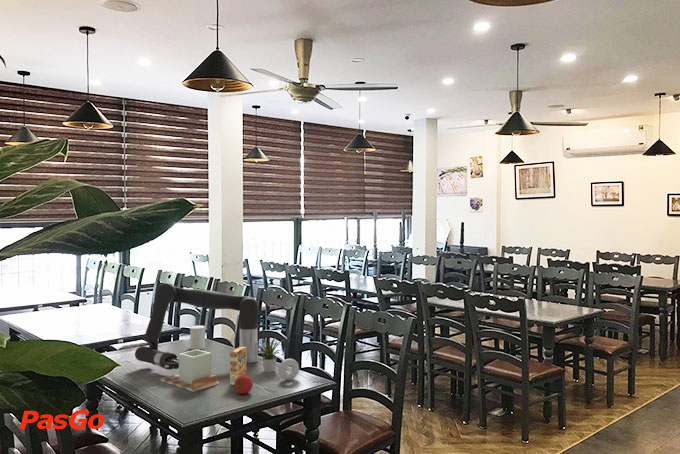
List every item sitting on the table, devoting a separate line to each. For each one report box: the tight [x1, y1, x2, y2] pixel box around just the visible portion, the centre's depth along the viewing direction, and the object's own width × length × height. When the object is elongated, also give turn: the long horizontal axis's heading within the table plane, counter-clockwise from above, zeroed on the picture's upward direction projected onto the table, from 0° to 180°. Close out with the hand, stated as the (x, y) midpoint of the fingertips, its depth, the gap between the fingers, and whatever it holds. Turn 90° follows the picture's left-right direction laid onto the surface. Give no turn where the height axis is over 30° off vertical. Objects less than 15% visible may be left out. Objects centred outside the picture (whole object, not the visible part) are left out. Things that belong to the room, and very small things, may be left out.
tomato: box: [234, 375, 254, 395], centre depth 232 cm, size 8×8×8 cm
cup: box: [189, 325, 206, 350], centre depth 310 cm, size 8×8×12 cm
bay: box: [160, 373, 220, 393], centre depth 247 cm, size 24×14×4 cm, turn 52°
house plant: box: [257, 337, 286, 373], centre depth 268 cm, size 14×14×16 cm
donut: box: [277, 358, 300, 381], centre depth 252 cm, size 10×4×10 cm, turn 116°
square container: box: [178, 349, 212, 385], centre depth 245 cm, size 10×10×13 cm
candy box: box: [229, 346, 248, 386], centre depth 248 cm, size 9×4×15 cm, turn 162°
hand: (188, 366), depth 248 cm, fingers closed
